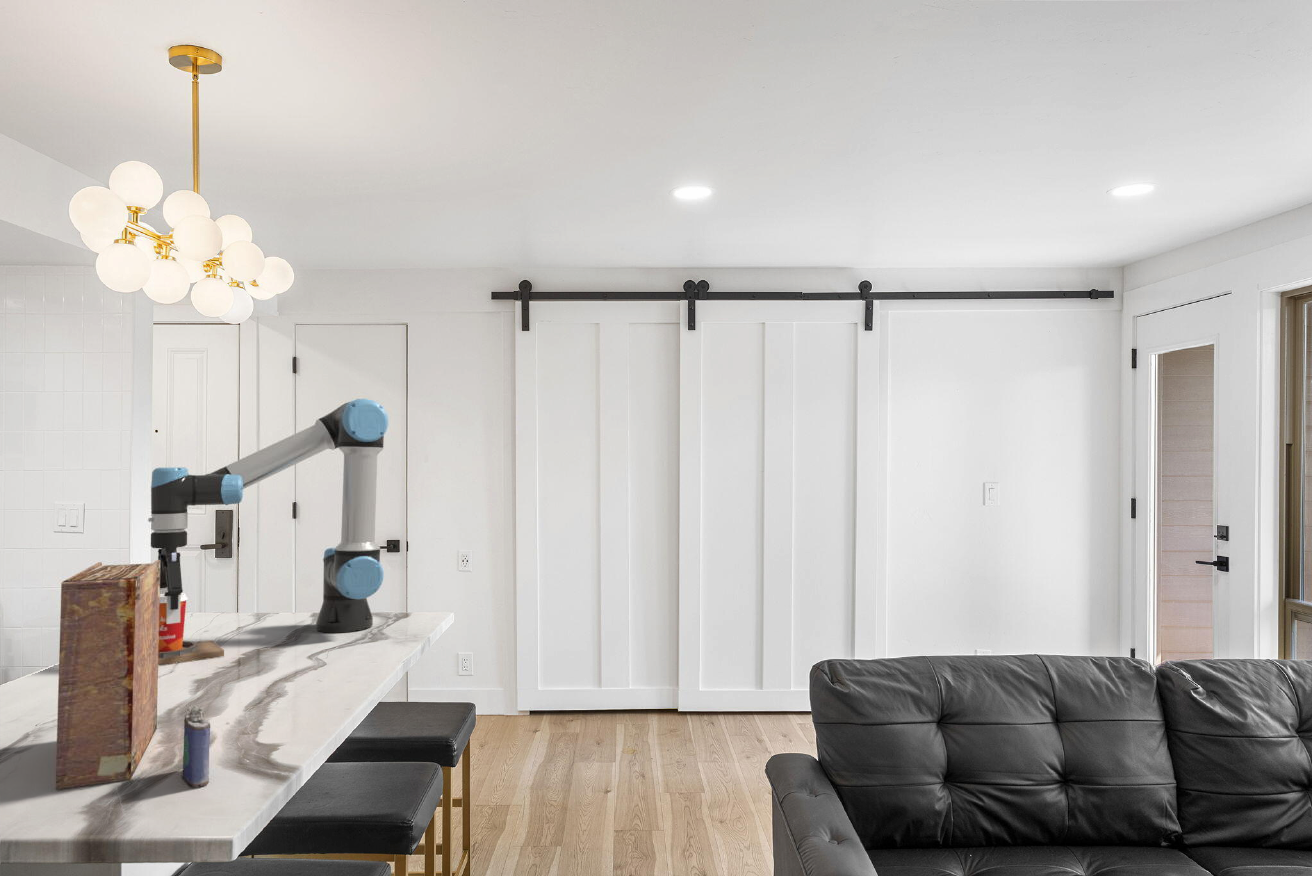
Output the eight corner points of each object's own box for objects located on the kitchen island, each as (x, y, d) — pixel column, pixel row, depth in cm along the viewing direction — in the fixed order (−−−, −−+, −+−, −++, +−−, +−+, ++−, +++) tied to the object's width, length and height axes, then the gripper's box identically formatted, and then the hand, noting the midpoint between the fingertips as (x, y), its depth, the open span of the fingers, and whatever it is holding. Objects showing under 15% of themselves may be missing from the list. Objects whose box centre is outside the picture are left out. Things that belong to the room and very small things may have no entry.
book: (95, 735, 135) (99, 561, 136) (157, 727, 139) (161, 559, 140) (54, 791, 112) (60, 582, 113) (131, 780, 116) (136, 578, 117)
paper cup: (141, 656, 184) (142, 596, 184) (170, 648, 191) (171, 591, 192) (166, 658, 182) (167, 598, 182) (194, 650, 189) (195, 592, 189)
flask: (210, 785, 114) (212, 711, 114) (187, 790, 112) (188, 715, 113) (200, 766, 121) (201, 697, 122) (178, 771, 119) (179, 700, 120)
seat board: (211, 646, 200) (211, 635, 200) (223, 656, 190) (224, 645, 190) (107, 659, 186) (107, 648, 186) (114, 671, 175) (115, 659, 176)
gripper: (143, 528, 196) (142, 613, 195) (159, 535, 177) (158, 629, 176) (177, 526, 201) (176, 609, 200) (197, 533, 182) (196, 624, 181)
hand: (168, 618), depth 188 cm, fingers open, 13 cm apart
